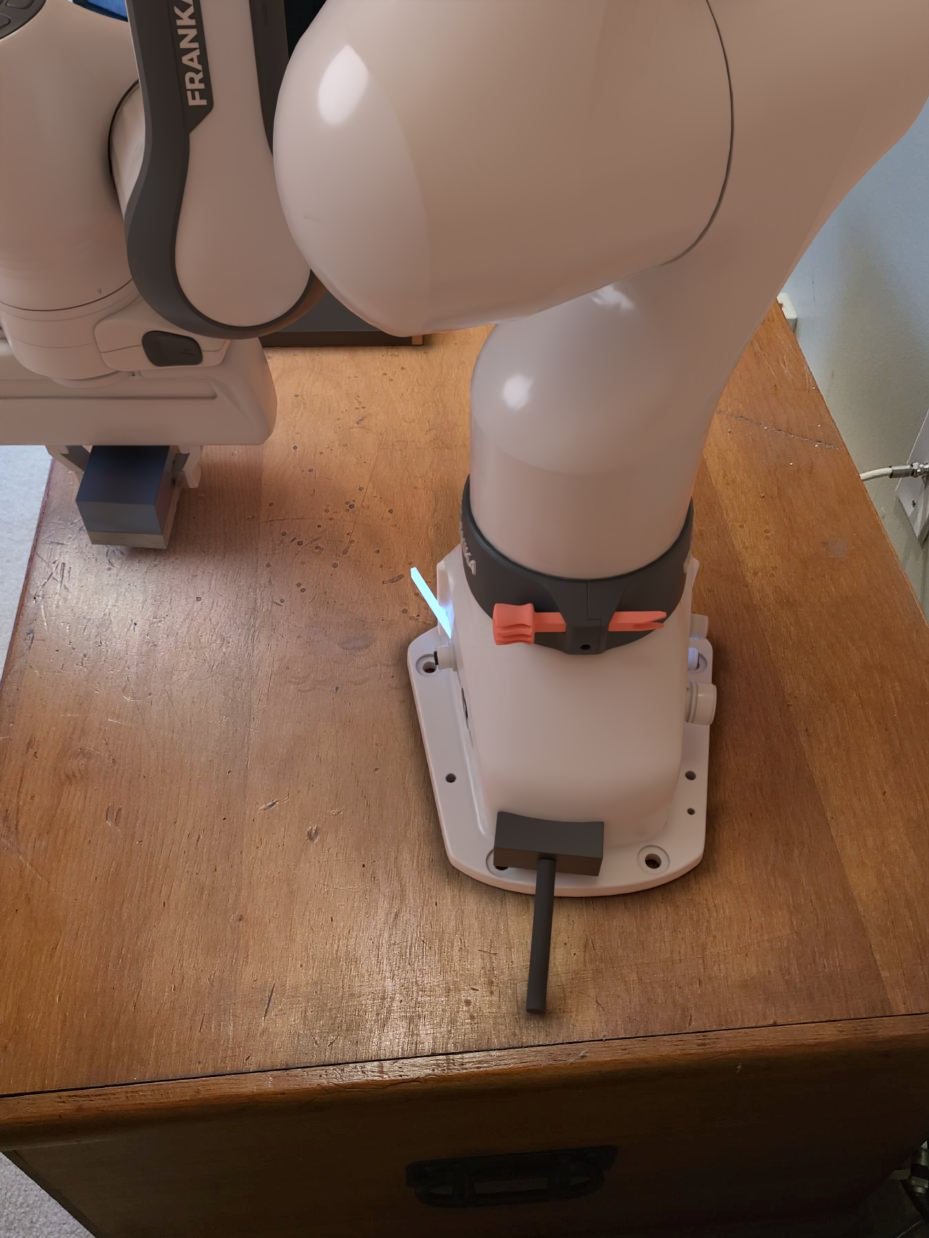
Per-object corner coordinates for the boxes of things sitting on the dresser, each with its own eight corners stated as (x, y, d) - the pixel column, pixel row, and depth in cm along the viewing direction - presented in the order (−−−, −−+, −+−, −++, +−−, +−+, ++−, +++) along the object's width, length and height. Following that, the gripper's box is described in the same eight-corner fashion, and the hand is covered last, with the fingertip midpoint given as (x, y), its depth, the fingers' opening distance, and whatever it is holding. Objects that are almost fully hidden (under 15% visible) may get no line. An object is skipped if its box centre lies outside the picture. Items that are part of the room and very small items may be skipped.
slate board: (423, 345, 81) (422, 326, 80) (156, 348, 81) (150, 330, 80) (425, 269, 88) (424, 251, 86) (179, 272, 88) (174, 254, 86)
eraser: (192, 441, 72) (182, 395, 68) (166, 549, 66) (154, 505, 63) (123, 437, 72) (109, 391, 68) (91, 544, 66) (74, 500, 62)
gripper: (-118, 343, 55) (-21, 514, 66) (245, 342, 55) (282, 514, 66) (-80, 278, 59) (6, 450, 70) (260, 277, 59) (293, 449, 70)
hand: (143, 481), depth 68 cm, fingers closed on eraser, 5 cm apart
